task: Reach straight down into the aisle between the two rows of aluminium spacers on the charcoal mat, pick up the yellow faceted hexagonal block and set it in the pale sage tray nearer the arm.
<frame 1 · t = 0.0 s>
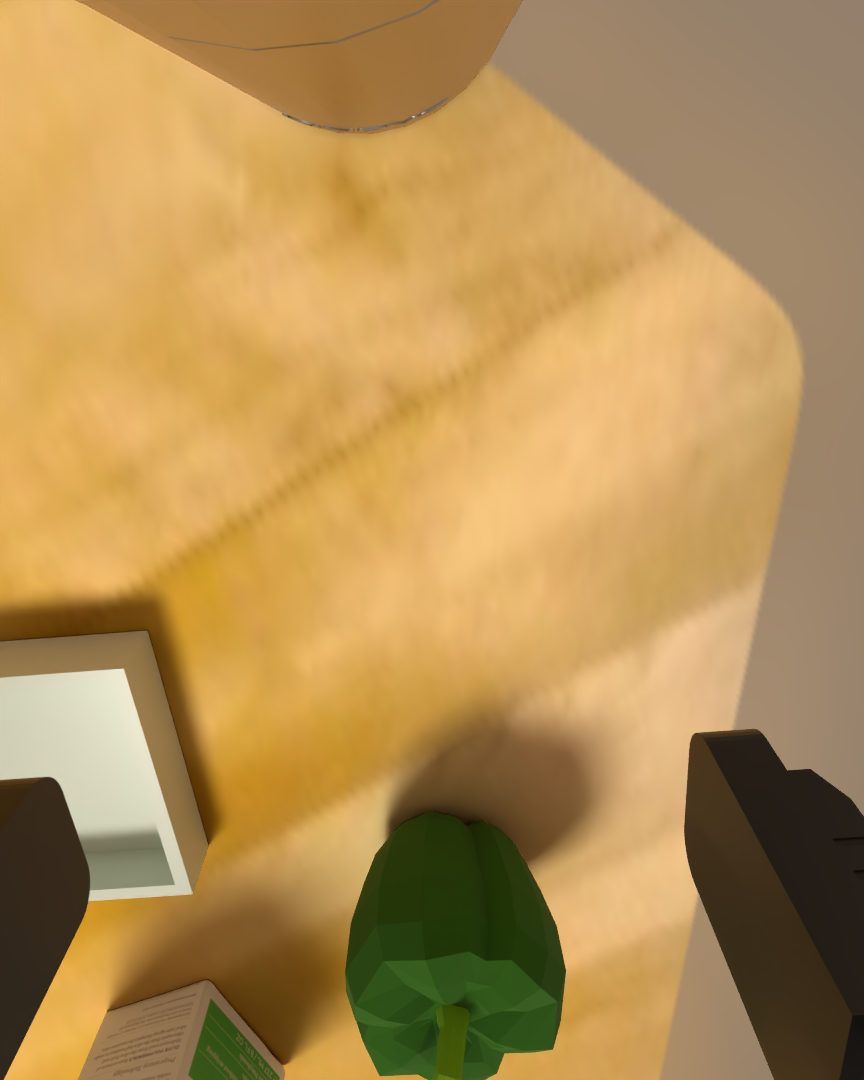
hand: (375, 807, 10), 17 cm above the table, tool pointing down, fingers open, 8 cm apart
skincare box: (194, 1034, 39), on the table
bell pepper: (445, 849, 34), on the table
sage parts tray: (46, 756, 31), on the table
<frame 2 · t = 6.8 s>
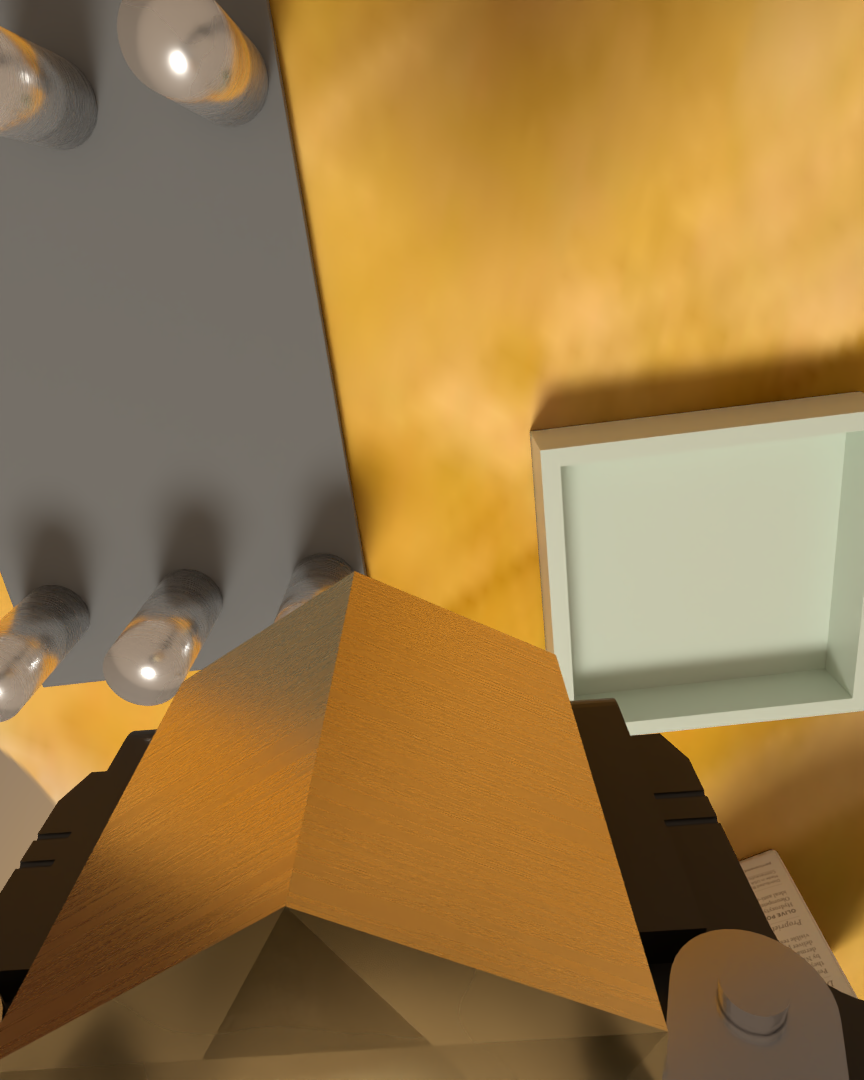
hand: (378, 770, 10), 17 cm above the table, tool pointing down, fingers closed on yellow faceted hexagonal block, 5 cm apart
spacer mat: (136, 378, 25), on the table
skincare box: (729, 923, 35), on the table
yellow faceted hexagonal block: (366, 905, 8), point 19 cm above the table, touching gripper
standing spacers: (100, 396, 22), on the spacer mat
sage parts tray: (691, 560, 28), on the table
when the fingers open (2 cm above the table, at t = 9.8 s): yellow faceted hexagonal block drops 1 cm, resting on sage parts tray.
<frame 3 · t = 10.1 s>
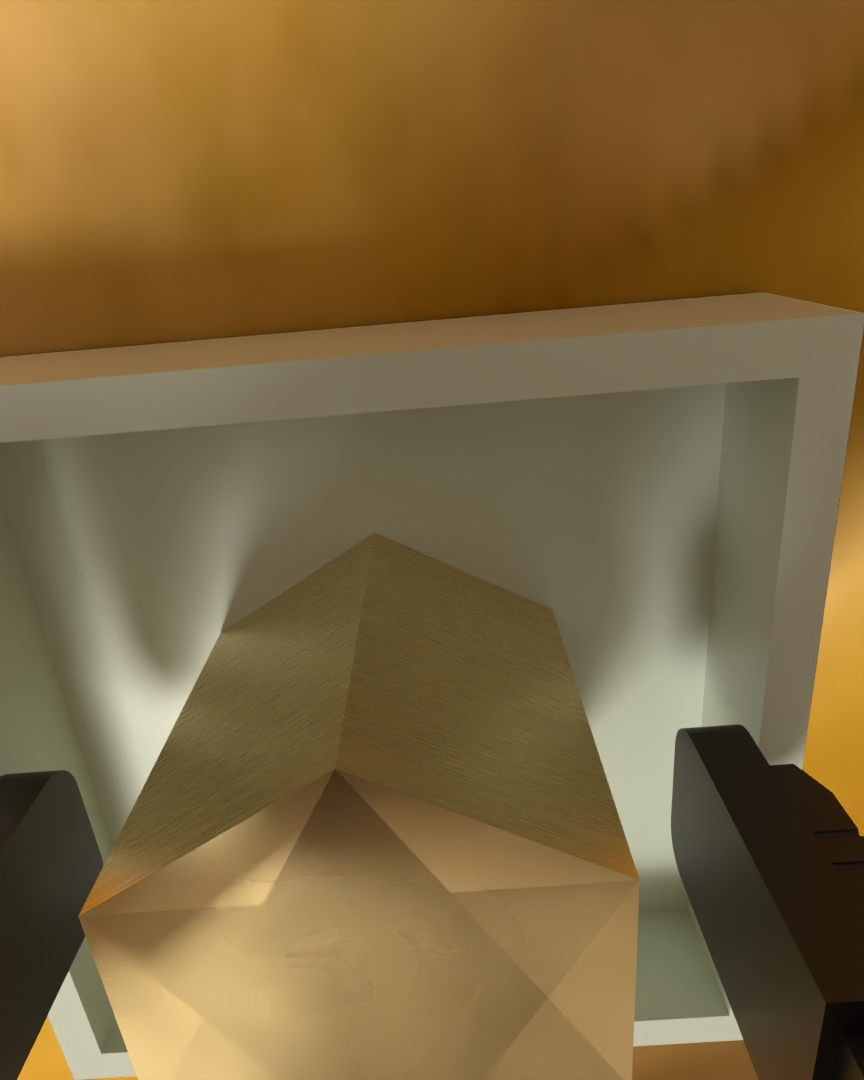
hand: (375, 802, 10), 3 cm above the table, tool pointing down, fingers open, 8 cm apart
yellow faceted hexagonal block: (386, 817, 9), in the sage parts tray
sage parts tray: (386, 680, 12), on the table
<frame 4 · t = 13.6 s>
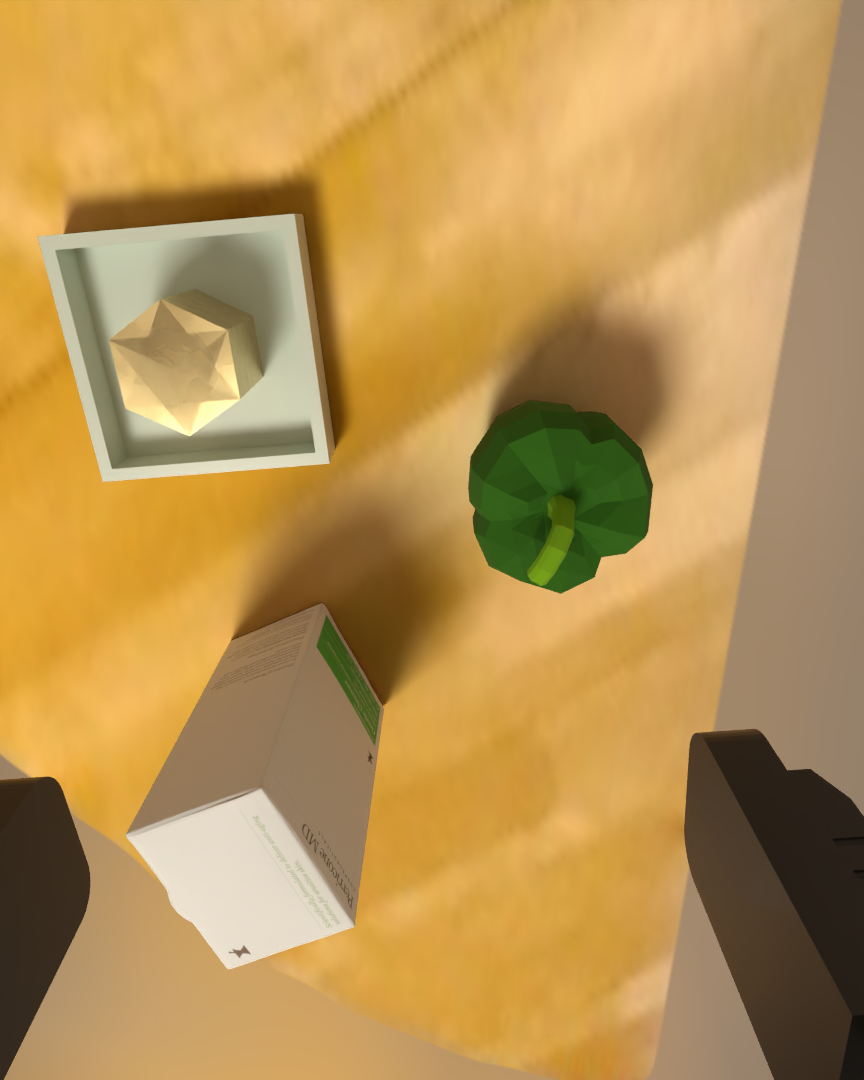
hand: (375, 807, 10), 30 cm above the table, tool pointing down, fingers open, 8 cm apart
skincare box: (305, 671, 44), on the table
yellow faceted hexagonal block: (192, 360, 34), in the sage parts tray
bell pepper: (536, 457, 39), on the table
sage parts tray: (206, 348, 37), on the table
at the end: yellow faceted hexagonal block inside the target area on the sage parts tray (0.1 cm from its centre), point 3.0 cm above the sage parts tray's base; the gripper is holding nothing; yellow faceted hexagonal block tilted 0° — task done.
